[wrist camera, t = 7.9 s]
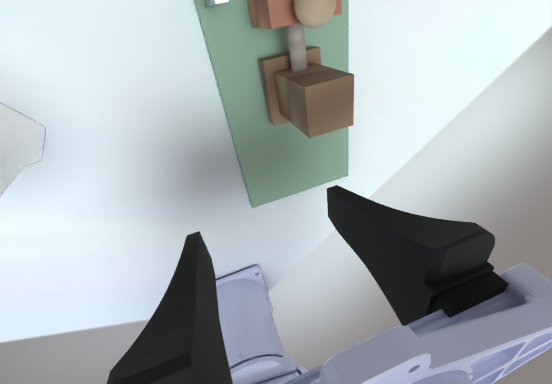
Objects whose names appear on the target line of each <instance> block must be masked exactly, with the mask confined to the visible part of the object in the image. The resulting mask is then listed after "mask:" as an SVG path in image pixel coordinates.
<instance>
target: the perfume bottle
mask: <svg viewBox="0 0 552 384" xmlns="http://www.w3.org/2000/svg"><path fill="white" fill-rule="evenodd" d="M44 139H45V127H44V126H42V125H41V124H39V123H37V122H35V121H33V120H31V119H30V118H28V117H26V116H24V115H22V114H20V113H18V112H16V111H14V110H13V109H11V108H9V107H7V106H5V105H3V104H1V103H0V197H1V196H2V194H3V193H4V192H5V191H6V189H7V188H8V187H9V185H10V184H11V183H12V181H13V180H14V179H15V177H16V176H17V175H18V174H19V172H20V171H21V170H22V168H23V167H24V166H26V165H29V164H32V163H35V162H38V161H40V160H41V159H42V154H43V146H44Z"/></svg>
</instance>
